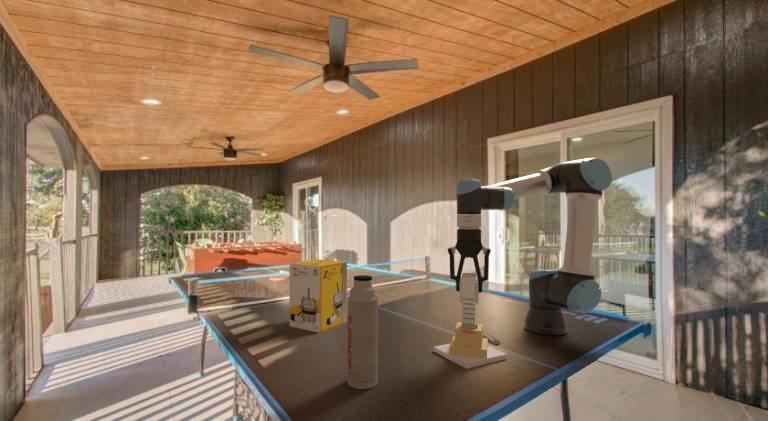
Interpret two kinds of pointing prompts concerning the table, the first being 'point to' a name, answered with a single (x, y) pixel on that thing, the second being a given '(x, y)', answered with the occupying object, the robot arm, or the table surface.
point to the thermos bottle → (362, 334)
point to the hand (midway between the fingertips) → (469, 302)
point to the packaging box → (318, 294)
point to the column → (469, 300)
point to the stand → (469, 348)
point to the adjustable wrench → (491, 338)
